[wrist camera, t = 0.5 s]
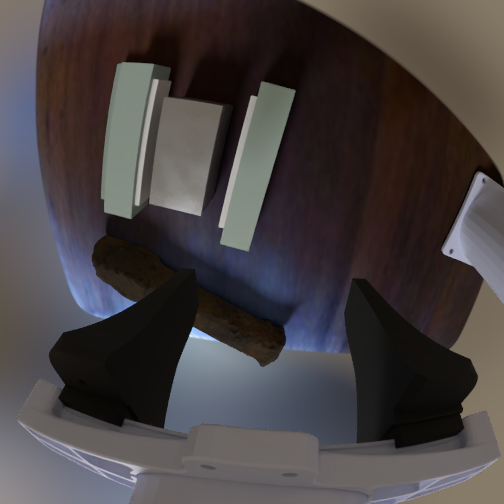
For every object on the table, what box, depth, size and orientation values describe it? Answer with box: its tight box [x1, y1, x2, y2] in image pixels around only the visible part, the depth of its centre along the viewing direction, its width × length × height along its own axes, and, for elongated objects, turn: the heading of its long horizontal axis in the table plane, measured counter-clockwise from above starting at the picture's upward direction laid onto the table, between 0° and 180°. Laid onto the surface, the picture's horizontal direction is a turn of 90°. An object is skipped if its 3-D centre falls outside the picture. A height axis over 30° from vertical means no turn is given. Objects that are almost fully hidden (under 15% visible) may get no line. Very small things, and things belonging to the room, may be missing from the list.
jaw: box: [219, 82, 296, 251], centre depth 18 cm, size 2×11×3 cm, turn 166°
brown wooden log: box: [92, 236, 286, 367], centre depth 24 cm, size 19×4×5 cm, turn 55°
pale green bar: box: [101, 62, 172, 219], centre depth 18 cm, size 4×11×3 cm, turn 166°
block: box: [149, 97, 234, 216], centre depth 18 cm, size 4×7×4 cm, turn 167°
